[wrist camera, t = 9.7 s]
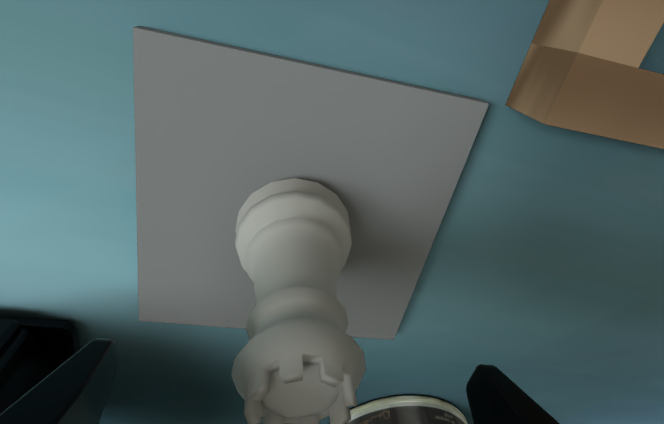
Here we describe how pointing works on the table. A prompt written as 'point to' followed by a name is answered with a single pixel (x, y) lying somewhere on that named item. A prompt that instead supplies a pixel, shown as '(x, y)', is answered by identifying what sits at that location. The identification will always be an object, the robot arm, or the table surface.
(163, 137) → the grey mat
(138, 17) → the table surface
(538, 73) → the brown wooden frame
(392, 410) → the coffee can
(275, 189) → the rook chess piece
